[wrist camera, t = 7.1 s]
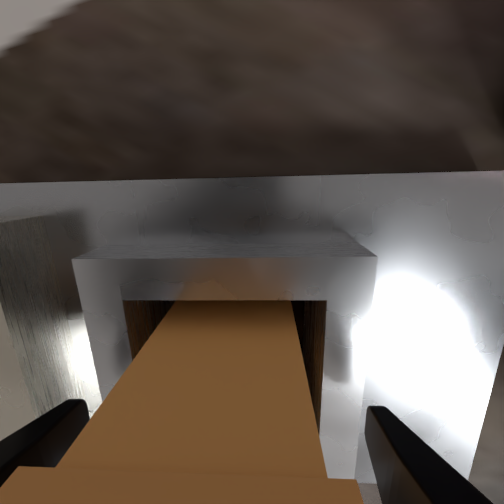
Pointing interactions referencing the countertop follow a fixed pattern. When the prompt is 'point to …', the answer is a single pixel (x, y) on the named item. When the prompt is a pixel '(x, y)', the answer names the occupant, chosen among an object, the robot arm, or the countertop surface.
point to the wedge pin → (200, 420)
